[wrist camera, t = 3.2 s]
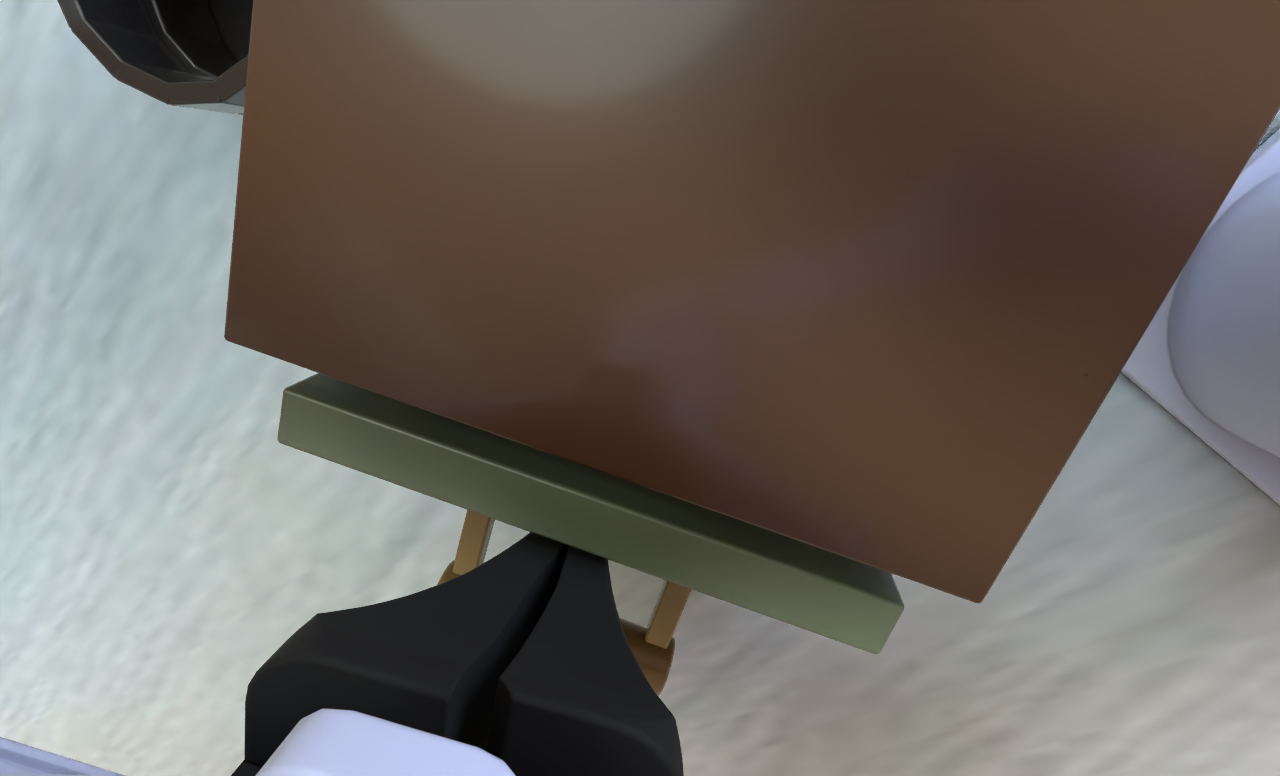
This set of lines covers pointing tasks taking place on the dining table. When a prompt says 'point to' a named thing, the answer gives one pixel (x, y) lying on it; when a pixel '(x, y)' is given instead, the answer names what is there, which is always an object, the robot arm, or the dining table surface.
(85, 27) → the cup
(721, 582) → the drawer
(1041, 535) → the dining table surface
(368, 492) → the dining table surface
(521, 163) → the cabinet
